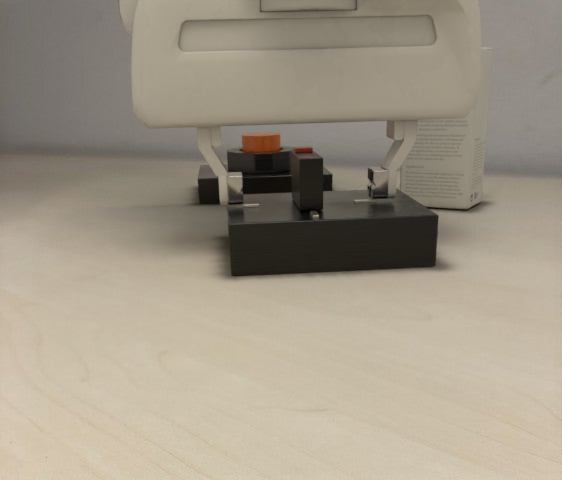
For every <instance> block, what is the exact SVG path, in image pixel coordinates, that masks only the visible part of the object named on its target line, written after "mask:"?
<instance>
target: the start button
mask: <svg viewBox="0 0 562 480" xmlns="http://www.w3.org/2000/svg"><path fill="white" fill-rule="evenodd" d="M281 146H282V145H281V133H280V132H267V131H266V132H265V131H264V132H263V131H262V132H248V133H247V132H246V133H243V134H241V147H242V151H245V152H267V151H278V150H281Z"/></svg>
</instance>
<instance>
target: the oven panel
mask: <svg viewBox="0 0 562 480" xmlns="http://www.w3.org/2000/svg"><path fill="white" fill-rule="evenodd" d="M243 202H244V204H237V205H226V214H227V216H226V218H227V232H228V246H229V247H228V248H229V260H230V261H229V263H230V274H231V276H233V277H234V276H251V275H274V274H275V275H277V274H294V273H295V274H297V273H315V272H319V273H320V272H338V271H357V270H379V269H381V270H382V269H401V268H403V269H404V268H422V267H423V268H424V267H435V266H436V265H437V249H438V231H439V217H440V216H439V214H437V213H436V212H434V211H433V210H431V209H429V207H425V206H423V205H422V204H420V203H419V202H417V201H416V200H414V199H413V198H411V197H410V196H408V195H406V194H405V193H403V192H402V191H400V188H397V187H396V195H395V198H390V199H371V197H369V196H368V191H367V189H349V190H345V189H344V190H332V191H323V210H307V211H300V209H299V208H298V206H297V205H296V203H295V202H294V200H293V199H292V193H269V194H244V195H243Z"/></svg>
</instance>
